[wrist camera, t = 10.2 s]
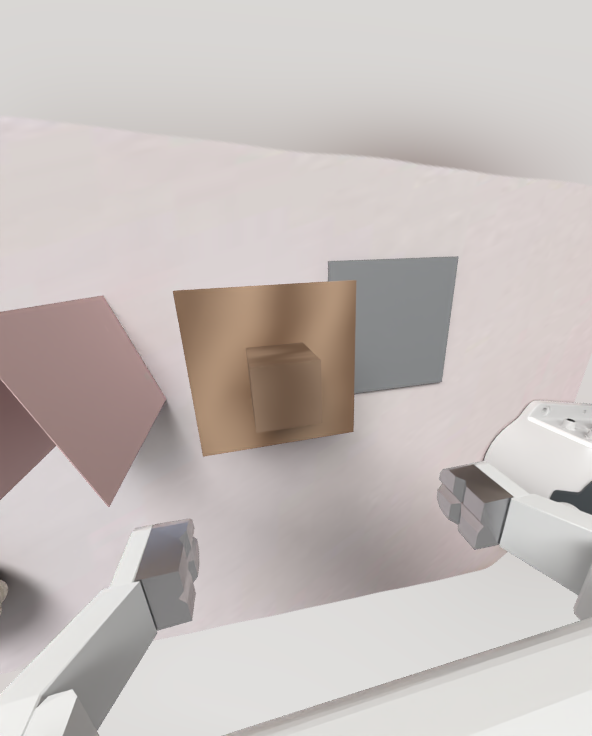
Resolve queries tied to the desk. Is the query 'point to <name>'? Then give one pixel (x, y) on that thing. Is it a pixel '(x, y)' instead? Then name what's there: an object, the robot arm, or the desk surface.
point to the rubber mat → (399, 319)
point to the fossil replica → (3, 592)
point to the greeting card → (72, 393)
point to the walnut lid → (269, 362)
